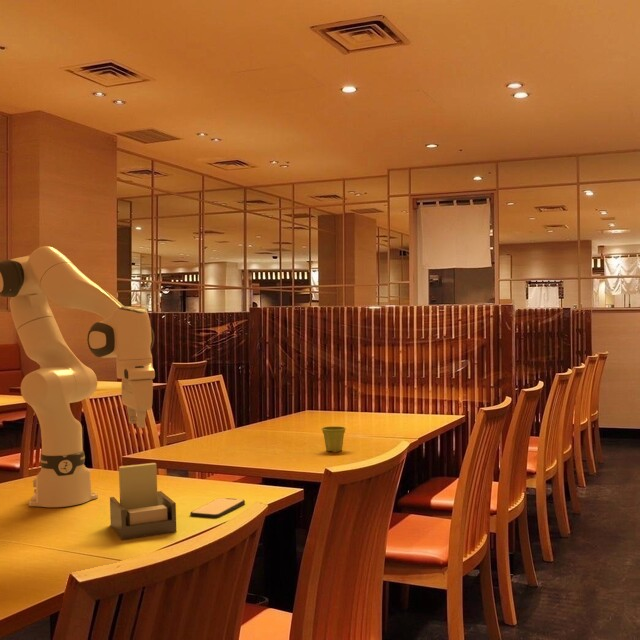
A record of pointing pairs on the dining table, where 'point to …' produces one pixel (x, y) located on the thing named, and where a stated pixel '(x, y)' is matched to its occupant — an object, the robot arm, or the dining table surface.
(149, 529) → the rack
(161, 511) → the offcut upper
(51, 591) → the dining table surface
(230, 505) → the phone case
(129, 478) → the tall sheet
